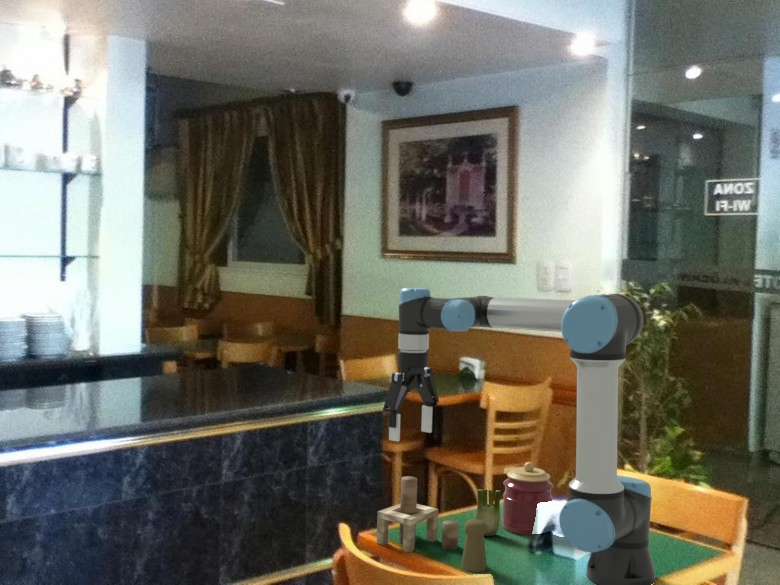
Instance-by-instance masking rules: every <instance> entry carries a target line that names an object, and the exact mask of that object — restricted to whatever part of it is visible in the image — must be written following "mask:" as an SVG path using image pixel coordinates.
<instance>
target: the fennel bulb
mask: <svg viewBox="0 0 780 585" xmlns="http://www.w3.org/2000/svg"><path fill="white" fill-rule="evenodd" d="M476 491H477V506H476V507H477V508H476V512H475V516H474V519H479V520H482V521H484V522H485V524H486V527H487V531H486V533H485V535H484V537H485V536H486V537H492V536H495V535H496V534H497V533H498V530H499V527H500V522H501V506H500V505H501V503H500V501H501V490H497V489H496V490H495V493H494V489H487V488H484V489H477V490H476ZM494 494H495V495H494Z"/></svg>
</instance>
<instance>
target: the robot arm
mask: <svg viewBox="0 0 780 585" xmlns="http://www.w3.org/2000/svg"><path fill="white" fill-rule="evenodd" d="M643 325H644V314H643V311H642V309H641V307H640V305H639V304H638V303H637V301H635V300H634V299H632V298H631V297H630V296H627V295H625V294H620V293H610V294H592V295H591V294H590V295H586V296H584V297H580V298H578V299H576V300H575V299H555V298H554V299H550V298H549V299H548V298H547V299H546V298H529V297H528V298H525V297H524V298H521V297H502V296H501V297H500V296H497V297H492V296H488V295H477V296H471V297H470V296H469V297H467V296H465V297H453V298H452V297H451V298H444V297H432V296H431V290H430V289H429V288H426V287H403V288H402V289H401V290H400V292H399V303H398V338H397V341H398V343H397V344H398V347H397V348H398V349H399V351H398V352H397V366H398V367H400V372H395V371H394V372H392V373H391V381H390V385H389V388H388V392H387V395H386V398H385V402H384V404H383V408H382V412H384V413H385V414H388V440H389V441H393V442H400V440H401V414H400V413H399V412H400V410H401V408H402V406H403V404H404V401H405V399H406V397H407V396H408V393H409V392H411V391H412V390H414V389H416V391H417V393H418V395H419V396H420V398H421V400H422V402H423V405H422V406H421V430H420V432H423V433H429V434H431V433H432V432H433V416H434V415H433V412H434V407H437V406H438V402H439V401H440V400H439V395H438V393H437V389H436V384H435V381H434V377H433V368H432V367H429V352H428V350H429V348H430V329H435V330H436V329H437V330H443V331H450V332H467V331H469V330H470V329H471V328H489V329H490V328H491V329H492V328H493V329H494V328H496V329H507V330H509V329H510V330H526V331H538V332H539V331H542V332H555V333H556V332H557V333H561V335H562V338H563V340H564V342H566V344H567V346H568V347H569V359H570V360H571V361H572V362H573V363H574V364H575V365H576V368H577V370H576V432H575V433H576V434H575V435H576V436H575V437H576V439H575V440H576V441H575V442H576V444H575V445H576V447H575V449H576V450H575V451H576V454H575V477H574V478H573V479H572V480H571V481H570V482H569V483H568V501H567V502H566V503H564V505H563V507H562V508H561V510H560V513H559V517H558V518H559V521H558V522H559V526H560V530H561V531H560V532H562V535H563V537H564V539H566V540H567V541H568V542H569V544H570V545H571V546H572V547H574V548H575V549H577V550H579V551H582V552H584V553H590V556H589V559H588V561H587V564H586V577H587V578H588V579H589V580H590V581H591V582H593V583H595V584H598V585H651V584H653V583H654V582H655V583H656V569H655V566H654V562H653V559H652V555H651V551H650V547H649V543H650V540H649V539H650V528H651V527H650V524H651V507H652V498H653V497H652V487H651V485H650V483H648V482H647V481H646V480H642V479H639V478H636V477H630V476H624V475H618V425H619V424H618V422H619V420H618V418H619V414H618V412H619V411H618V410H619V367H620V366H621V365H622V364H623V363H624V362H625V361H626V359H627V355H626V354H627V345H630V343H633V342H634V340H636V339H637V338H638V337H639V336H640V334H641V331H642V329H643Z"/></svg>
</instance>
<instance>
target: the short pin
mask: <svg viewBox="0 0 780 585" xmlns="http://www.w3.org/2000/svg"><path fill="white" fill-rule="evenodd" d="M441 525H442V528H441V533H442V534H441V548H442V549H444V550H448V549H450V550H449V551H451V550H457V549H459V528H460V526H459V525H460V524H459V521H456V520H444V521H442V524H441Z"/></svg>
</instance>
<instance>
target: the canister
mask: <svg viewBox="0 0 780 585" xmlns="http://www.w3.org/2000/svg"><path fill="white" fill-rule="evenodd" d="M506 476H507V478H506V479H505V480H503V486H504V488H505V489H504V492H503V494H502V498H503V499H502V500H503V501H502V502H503V504H502V516H501V523H502V527H503V529H504V530H506V531H508V532H510V533H514V534H519V535H524V536H525V535H526V536H532V535H531V534H532V531H533V526H534V522H535V517H536V508H537V504H538V503H540V502H548V501H552V502H553V500H554V498H553V496H552V489H554V485H553V483H552V482H551V481H550V479H551V475H550V474H549V473H548V472H546V471H545V470H543V469H542V468H538V467H535V465H534V463H533V462H531V461H527V462H525V463H524V465H523V466H518V467H514V468H513V469H512V470H510V471H508V472H506Z"/></svg>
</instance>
